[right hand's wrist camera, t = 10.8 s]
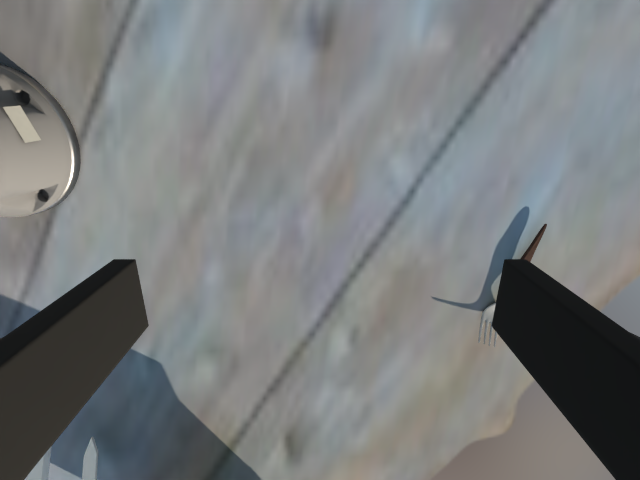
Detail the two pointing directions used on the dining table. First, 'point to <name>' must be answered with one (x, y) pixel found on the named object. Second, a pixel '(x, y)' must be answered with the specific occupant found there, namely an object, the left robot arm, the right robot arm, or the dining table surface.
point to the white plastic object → (90, 462)
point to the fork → (489, 311)
